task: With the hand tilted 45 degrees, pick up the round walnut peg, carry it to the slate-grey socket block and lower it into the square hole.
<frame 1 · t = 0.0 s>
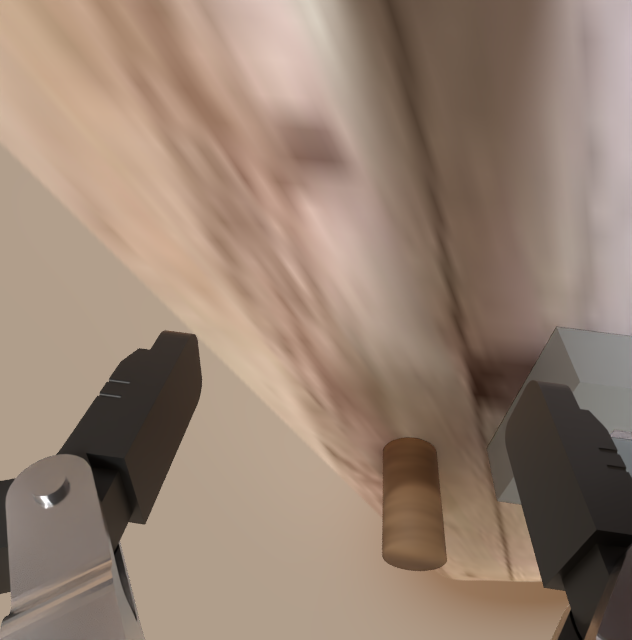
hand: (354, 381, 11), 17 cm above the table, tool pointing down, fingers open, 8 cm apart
socket block: (612, 408, 35), on the table
peg: (409, 453, 42), on the table
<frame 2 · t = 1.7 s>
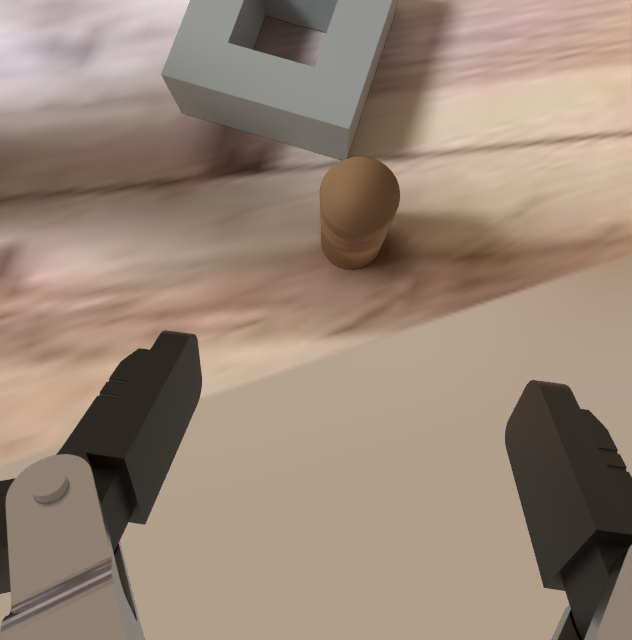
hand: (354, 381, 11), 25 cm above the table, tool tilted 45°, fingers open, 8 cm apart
socket block: (290, 60, 39), on the table
peg: (351, 240, 37), on the table
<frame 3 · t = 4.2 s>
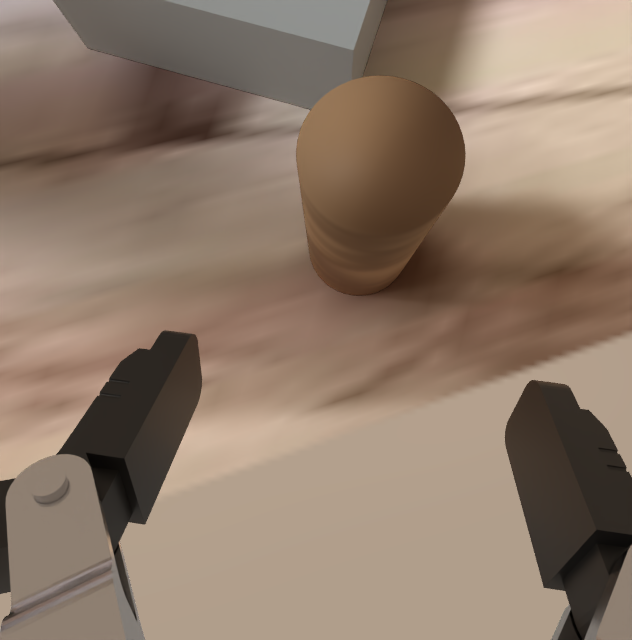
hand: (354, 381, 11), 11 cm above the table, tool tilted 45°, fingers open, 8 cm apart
peg: (358, 247, 23), on the table
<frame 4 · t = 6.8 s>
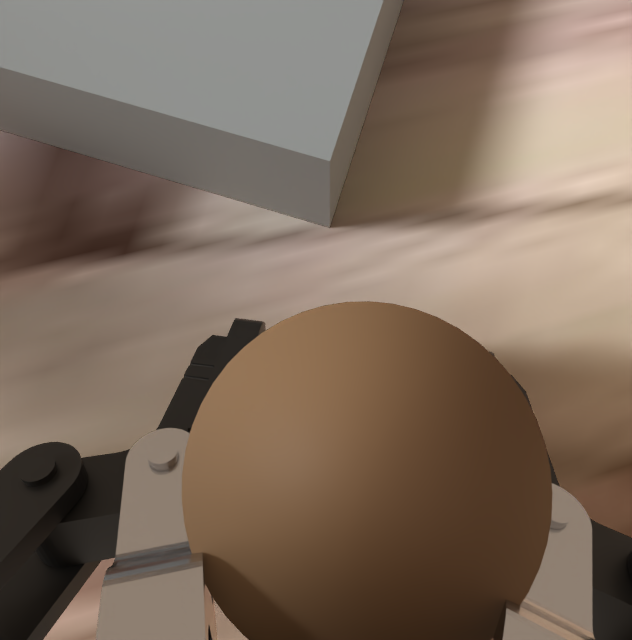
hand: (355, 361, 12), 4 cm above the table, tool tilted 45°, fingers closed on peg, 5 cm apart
socket block: (206, 1, 18), on the table
peg: (342, 419, 15), on the table, touching gripper
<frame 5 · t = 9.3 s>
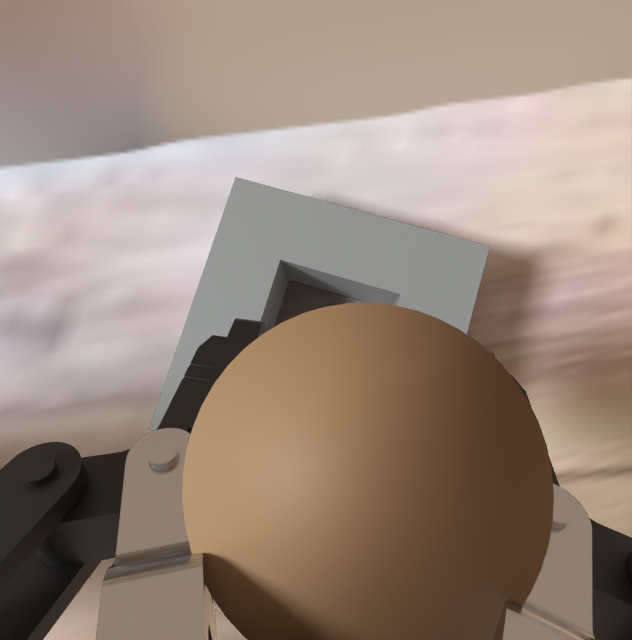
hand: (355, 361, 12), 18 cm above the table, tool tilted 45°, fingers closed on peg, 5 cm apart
socket block: (323, 344, 29), on the table
peg: (343, 420, 15), point 14 cm above the table, touching gripper
when the fingers open (7 cm above the table, at t = 11.9 s): peg drops 2 cm, resting in socket block.
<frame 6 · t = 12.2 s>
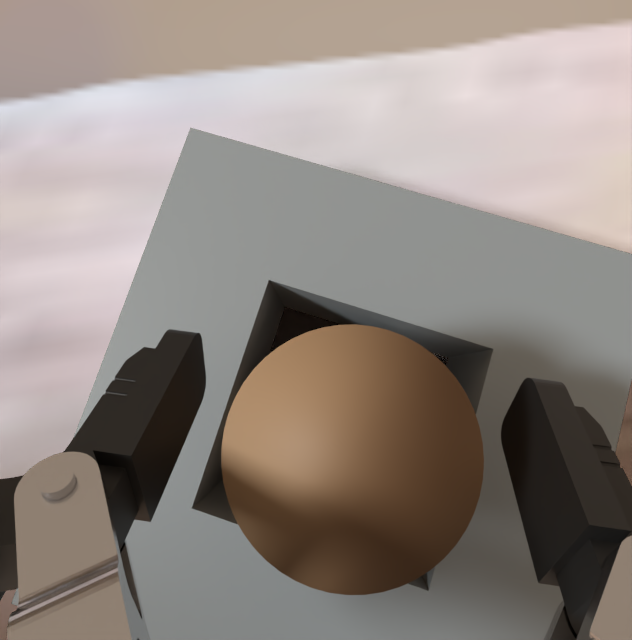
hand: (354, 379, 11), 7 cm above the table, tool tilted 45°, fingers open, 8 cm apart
socket block: (340, 414, 18), on the table
peg: (338, 415, 18), resting in socket block
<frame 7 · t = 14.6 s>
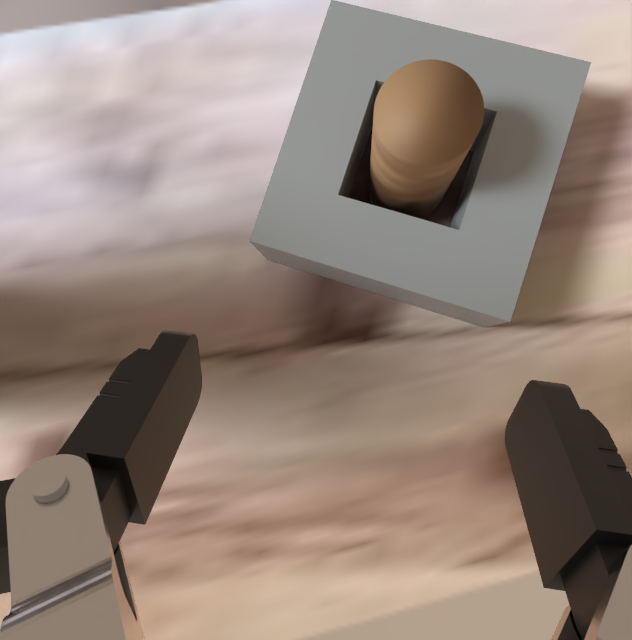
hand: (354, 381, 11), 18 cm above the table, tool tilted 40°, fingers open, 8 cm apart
socket block: (406, 186, 30), on the table
peg: (405, 187, 30), resting in socket block
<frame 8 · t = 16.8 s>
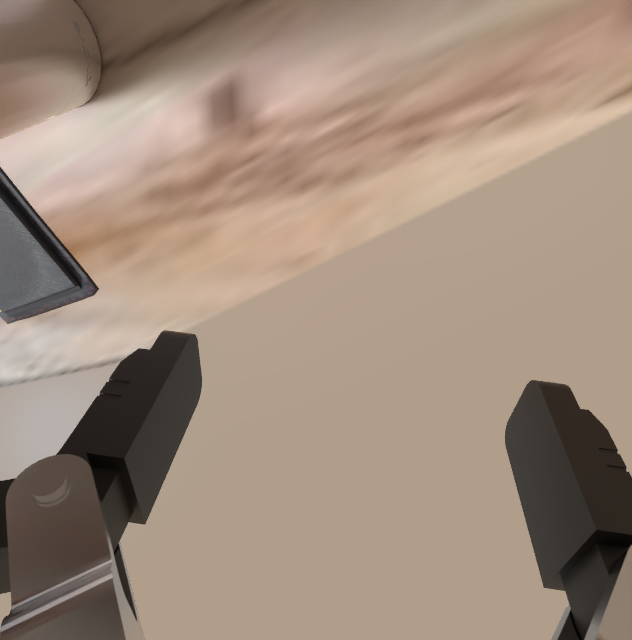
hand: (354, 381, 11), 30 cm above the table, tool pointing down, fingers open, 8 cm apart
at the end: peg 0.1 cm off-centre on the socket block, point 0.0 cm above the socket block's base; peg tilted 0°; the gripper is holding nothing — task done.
